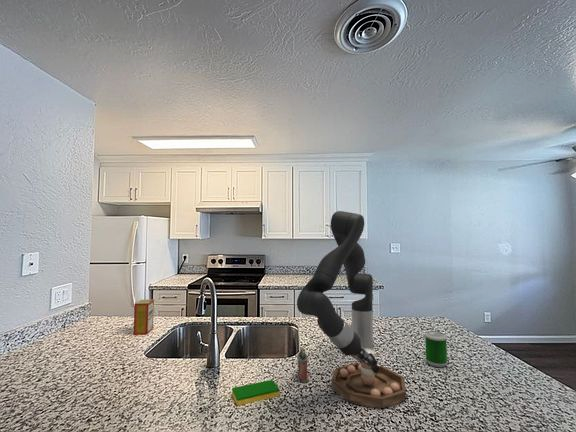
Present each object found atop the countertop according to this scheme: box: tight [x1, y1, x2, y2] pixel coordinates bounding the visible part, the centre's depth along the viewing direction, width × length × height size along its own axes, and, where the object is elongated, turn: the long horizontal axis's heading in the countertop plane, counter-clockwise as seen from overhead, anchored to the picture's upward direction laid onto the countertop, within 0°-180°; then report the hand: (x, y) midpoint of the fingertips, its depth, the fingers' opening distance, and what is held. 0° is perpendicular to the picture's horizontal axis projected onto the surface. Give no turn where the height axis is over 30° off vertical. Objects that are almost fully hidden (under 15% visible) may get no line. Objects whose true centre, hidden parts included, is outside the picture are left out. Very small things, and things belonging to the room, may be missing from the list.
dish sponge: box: [231, 379, 281, 406], centre depth 96 cm, size 7×14×2 cm, turn 114°
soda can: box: [424, 330, 448, 368], centre depth 119 cm, size 8×8×12 cm
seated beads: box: [340, 364, 400, 397], centre depth 100 cm, size 20×11×3 cm, turn 27°
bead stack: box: [361, 348, 375, 385], centre depth 100 cm, size 4×4×10 cm
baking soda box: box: [132, 299, 155, 336], centre depth 157 cm, size 10×6×16 cm
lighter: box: [297, 346, 309, 385], centre depth 107 cm, size 8×3×10 cm, turn 5°
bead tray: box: [331, 362, 407, 409], centre depth 100 cm, size 23×23×3 cm
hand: (372, 367), depth 101 cm, fingers closed on bead stack, 4 cm apart
